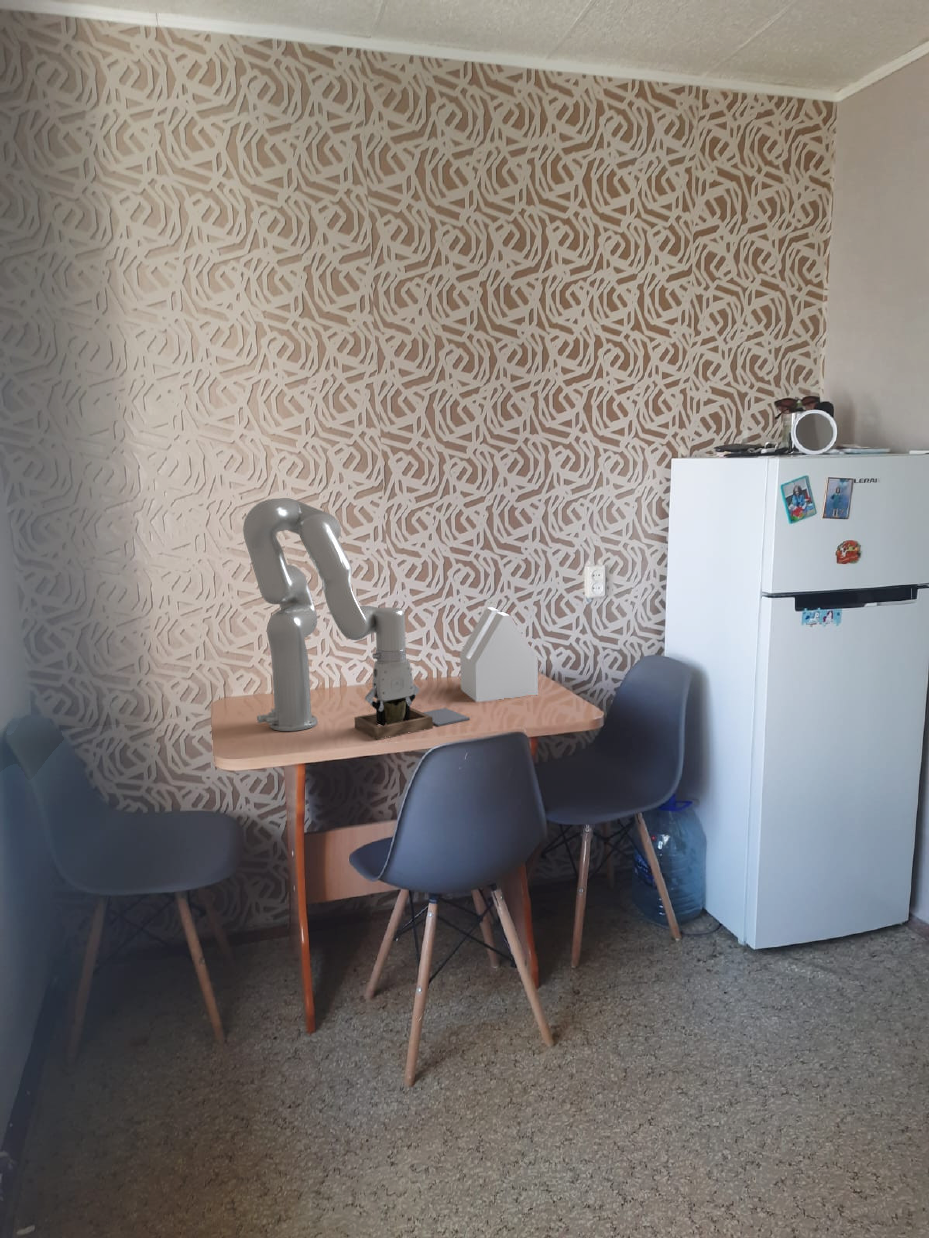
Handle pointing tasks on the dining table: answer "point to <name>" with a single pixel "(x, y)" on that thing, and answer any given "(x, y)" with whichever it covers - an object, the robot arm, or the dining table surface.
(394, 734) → the frame
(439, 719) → the mat
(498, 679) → the grey slotted house block
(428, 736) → the dining table surface
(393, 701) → the cup
